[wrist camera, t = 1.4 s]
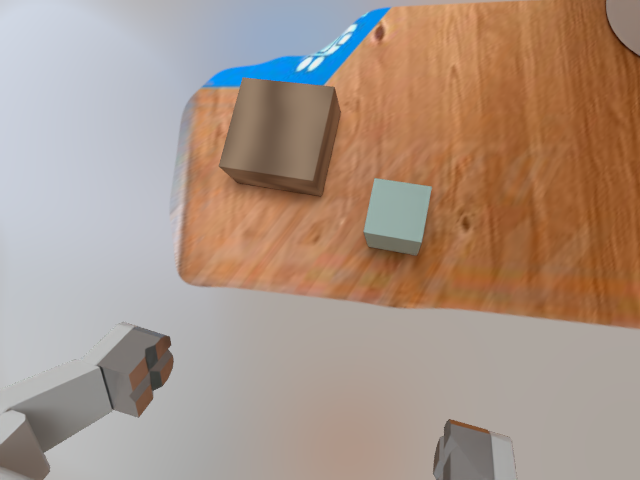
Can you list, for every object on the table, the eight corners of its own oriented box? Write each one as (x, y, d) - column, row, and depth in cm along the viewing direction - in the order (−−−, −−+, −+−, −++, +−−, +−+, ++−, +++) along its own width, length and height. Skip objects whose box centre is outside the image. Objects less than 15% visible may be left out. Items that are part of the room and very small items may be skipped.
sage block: (425, 208, 42) (431, 186, 35) (416, 255, 41) (421, 242, 34) (377, 200, 43) (374, 178, 36) (368, 246, 42) (363, 232, 35)
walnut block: (340, 111, 46) (334, 87, 41) (321, 196, 44) (312, 180, 39) (257, 102, 48) (242, 77, 43) (237, 182, 46) (218, 166, 41)
